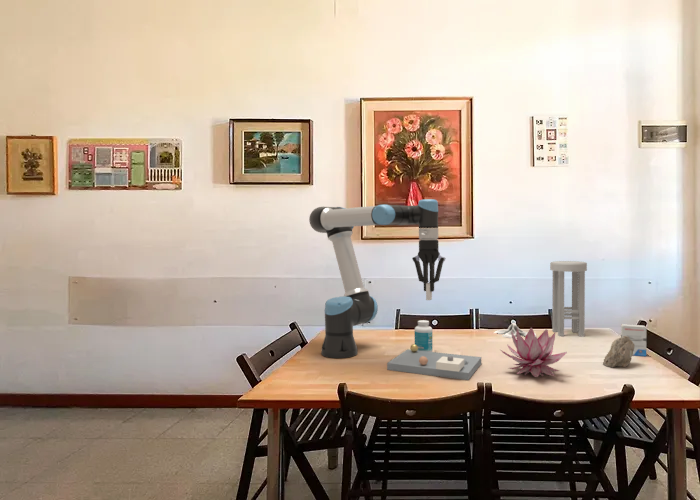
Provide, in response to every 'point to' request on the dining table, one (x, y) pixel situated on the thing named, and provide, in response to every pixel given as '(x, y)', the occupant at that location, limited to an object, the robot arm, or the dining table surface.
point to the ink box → (636, 337)
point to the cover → (450, 363)
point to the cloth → (512, 328)
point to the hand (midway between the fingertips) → (429, 299)
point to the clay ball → (423, 360)
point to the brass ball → (414, 347)
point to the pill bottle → (423, 336)
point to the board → (433, 364)
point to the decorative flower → (534, 353)
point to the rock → (620, 352)
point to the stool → (577, 296)
